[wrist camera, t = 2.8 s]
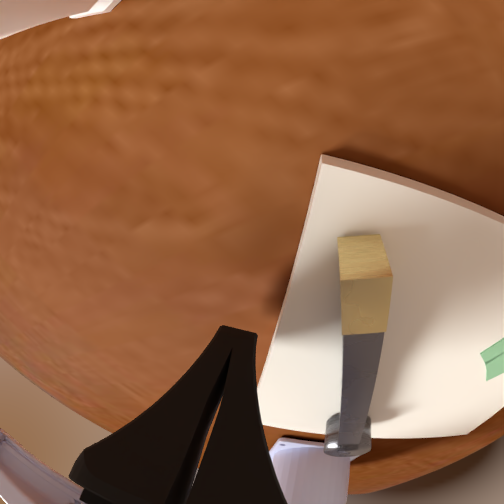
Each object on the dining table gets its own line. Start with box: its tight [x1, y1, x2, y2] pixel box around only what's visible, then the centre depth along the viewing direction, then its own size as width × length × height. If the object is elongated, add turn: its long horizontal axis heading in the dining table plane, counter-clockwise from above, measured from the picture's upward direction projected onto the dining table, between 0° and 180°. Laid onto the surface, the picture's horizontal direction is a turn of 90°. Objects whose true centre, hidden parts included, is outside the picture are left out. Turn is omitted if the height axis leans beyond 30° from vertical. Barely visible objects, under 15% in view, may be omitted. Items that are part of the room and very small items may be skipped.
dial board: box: [257, 154, 504, 438], centre depth 12 cm, size 17×19×1 cm
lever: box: [324, 234, 393, 457], centre depth 11 cm, size 14×3×2 cm, turn 13°
